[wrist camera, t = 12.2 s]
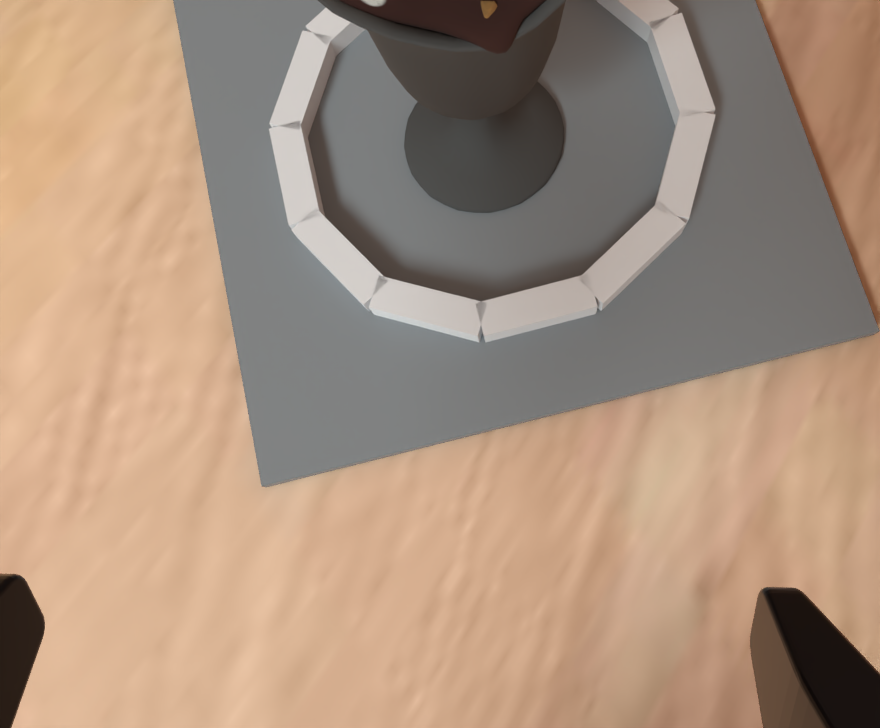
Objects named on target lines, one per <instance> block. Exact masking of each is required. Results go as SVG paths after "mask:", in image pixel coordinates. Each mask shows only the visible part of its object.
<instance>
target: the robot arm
mask: <svg viewBox="0 0 880 728" xmlns="http://www.w3.org/2000/svg"><path fill="white" fill-rule="evenodd" d="M44 629H45V621H44V616H43V614H42V612H41V610H40V608H39V606H38V604H37V602H36V600H35V598H34V596H33V594H32V592H31V590H30V588H29V586H28V584H27V582H26V580H25V579H24V578H23V577H22V576H20V575H17V574H0V728H11V727H12V724H13V721H14V718H15V716H16V713H17V710H18V707H19V704H20V701H21V699H22V696H23V693H24V690H25V687H26V684H27V681H28V679H29V676H30V673H31V670H32V667H33V664H34V661H35V659H36V656H37V653H38V650H39V647H40V644H41V642H42V639H43V635H44ZM750 649H751V657H752V663H753V669H754V675H755V681H756V687H757V693H758V699H759V705H760V711H761V717H762V723H763V728H880V673H879V672H878V671H877V670H876V669H875V668H874V667H873V666H872V665H871V664H870V663H869V662H868V661H867V660H866V659H865V657H864V656H863V655H862V654H861V653H860V652H859V651H858V650H857V649H856V648H855V647H854V646H853V645H852V644H851V643H850V642H849V641H848V639H847V638H846V637H845V636H844V635H843V634H842V633H841V632H840V631H839V630H838V629H837V628H836V627H835V626H834V625H833V624H832V622H831V621H830V620H829V619H828V618H827V617H826V616H825V615H824V614H823V613H822V612H821V611H820V610H819V609H818V608H817V607H816V606H815V604H814V603H813V602H812V601H811V600H810V599H809V598H808V597H807V596H806V595H805V594H804V593H803V592H802V591H800V590H798V589H796V588H782V587H766V588H763V589H761V591H760V592H759V594H758V598H757V603H756V609H755V614H754V619H753V624H752V629H751V635H750Z"/></svg>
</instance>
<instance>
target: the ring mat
mask: <svg viewBox="0 0 880 728" xmlns="http://www.w3.org/2000/svg"><path fill="white" fill-rule="evenodd" d="M173 1H174V6H175V12H176V17H177V23H178V28H179V34H180V39H181V45H182V50H183V56H184V61H185V67H186V72H187V78H188V83H189V89H190V94H191V100H192V105H193V111H194V116H195V122H196V127H197V133H198V138H199V144H200V149H201V155H202V160H203V166H204V171H205V177H206V182H207V188H208V193H209V199H210V204H211V210H212V215H213V221H214V226H215V232H216V237H217V243H218V248H219V254H220V259H221V265H222V270H223V276H224V281H225V287H226V292H227V298H228V304H229V309H230V315H231V320H232V326H233V331H234V337H235V342H236V348H237V353H238V359H239V364H240V370H241V375H242V381H243V386H244V392H245V397H246V403H247V408H248V414H249V419H250V425H251V430H252V436H253V441H254V447H255V452H256V458H257V463H258V469H259V474H260V480H261V485H262V486H263V487H269V486H273V485H277V484H281V483H285V482H289V481H293V480H297V479H301V478H305V477H309V476H312V475H316V474H320V473H324V472H328V471H332V470H336V469H340V468H344V467H348V466H352V465H356V464H360V463H364V462H368V461H372V460H376V459H380V458H384V457H388V456H392V455H396V454H400V453H404V452H408V451H412V450H416V449H420V448H424V447H428V446H432V445H436V444H440V443H444V442H448V441H452V440H456V439H460V438H464V437H468V436H472V435H476V434H480V433H484V432H488V431H492V430H496V429H500V428H504V427H508V426H512V425H516V424H520V423H524V422H527V421H531V420H535V419H539V418H543V417H547V416H551V415H555V414H559V413H563V412H567V411H571V410H575V409H579V408H583V407H587V406H591V405H595V404H599V403H603V402H607V401H611V400H615V399H619V398H623V397H627V396H631V395H635V394H639V393H643V392H647V391H651V390H655V389H659V388H663V387H667V386H671V385H675V384H679V383H683V382H687V381H691V380H695V379H699V378H703V377H707V376H711V375H715V374H719V373H723V372H727V371H731V370H735V369H739V368H743V367H746V366H750V365H754V364H758V363H762V362H766V361H770V360H774V359H778V358H782V357H786V356H790V355H794V354H798V353H802V352H806V351H810V350H814V349H818V348H822V347H826V346H830V345H834V344H838V343H842V342H846V341H850V340H854V339H858V338H862V337H866V336H870V335H874V334H875V333H877V332H879V328H878V326H877V323H876V320H875V318H874V315H873V312H872V310H871V307H870V304H869V302H868V299H867V296H866V294H865V291H864V288H863V286H862V283H861V280H860V278H859V275H858V272H857V270H856V267H855V264H854V262H853V259H852V256H851V254H850V251H849V248H848V246H847V243H846V240H845V238H844V235H843V232H842V230H841V227H840V224H839V222H838V219H837V216H836V214H835V211H834V209H833V206H832V203H831V201H830V198H829V195H828V193H827V190H826V187H825V185H824V182H823V179H822V177H821V174H820V171H819V169H818V166H817V163H816V161H815V158H814V155H813V153H812V150H811V147H810V145H809V142H808V139H807V137H806V134H805V131H804V129H803V126H802V123H801V121H800V118H799V115H798V113H797V110H796V107H795V105H794V102H793V99H792V97H791V94H790V91H789V89H788V86H787V83H786V81H785V78H784V75H783V73H782V70H781V67H780V65H779V62H778V59H777V57H776V54H775V51H774V49H773V46H772V43H771V41H770V38H769V36H768V33H767V30H766V28H765V25H764V22H763V20H762V17H761V14H760V12H759V9H758V6H757V4H756V1H755V0H566V2H565V6H564V10H563V14H562V18H561V22H560V26H559V30H558V34H557V38H556V42H555V44H554V46H553V49H552V51H551V53H550V56H549V58H548V60H547V63H546V65H545V67H544V69H543V71H542V73H541V75H540V77H539V79H538V82H539V83H540V84H541V85H542V86H543V87H544V88H545V89H546V90H547V91H548V92H549V94H550V95H551V96H552V97H553V98H554V100H555V101H556V104H557V106H558V108H559V111H560V113H561V117H562V120H563V124H564V145H563V151H562V156H561V159H560V161H559V163H558V165H557V167H556V169H555V171H554V173H553V174H552V176H551V177H550V179H549V180H548V182H547V183H546V184H545V185H544V186H543V187H542V188H541V189H540V190H539V191H538V192H536V193H535V194H534V195H533V196H531V197H530V198H528V199H527V200H525V201H524V202H523V203H521V204H519V205H516V206H513V207H510V208H508V209H505V210H500V211H496V212H492V213H473V212H465V211H458V210H456V209H453V208H451V207H449V206H446V205H444V204H442V203H440V202H439V201H437V200H435V199H433V198H432V197H430V196H429V195H428V194H427V193H426V192H425V191H424V190H423V188H422V187H421V186H420V185H419V184H418V182H417V181H416V180H415V178H414V177H413V176H412V174H411V171H410V168H409V166H408V163H407V159H406V154H405V150H404V140H405V131H406V126H407V121H408V118H409V116H410V114H411V112H412V110H413V108H414V106H415V105H416V103H417V102H418V101H416V100H415V99H414V98H413V97H412V96H411V95H410V94H409V93H408V92H407V91H406V90H405V88H404V87H403V86H402V85H401V83H400V82H399V81H398V79H397V78H396V77H395V76H394V74H393V73H392V72H391V71H390V69H389V68H388V66H387V65H386V63H385V61H384V59H383V57H382V56H381V54H380V52H379V50H378V48H377V47H376V45H375V43H374V41H373V40H372V38H371V36H370V34H369V32H368V31H367V30H366V29H364V28H361V27H359V26H357V25H355V24H353V23H351V22H349V21H347V20H345V19H343V18H341V17H339V16H337V15H335V14H334V13H332V12H331V11H330V10H328V9H327V8H326V7H325V6H324V5H322V4H321V3H320V2H319V1H317V0H173Z"/></svg>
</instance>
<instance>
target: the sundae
mask: <svg viewBox="0 0 880 728" xmlns="http://www.w3.org/2000/svg"><path fill="white" fill-rule="evenodd" d="M317 1H319V2H320V3H321V4H322V5H324V6H325V7H326V8H327V9H328V10H330V11H331V12H332V13H334V14H335V15H337V16H339V17H341V18H343V19H345V20H347V21H349V22H351V23H353V24H355V25H357V26H359V27H361V28H364V29H366V30H367V31H368V32H369V34H370V36H371V38H372V40H373V41H374V43H375V45H376V47H377V48H378V50H379V52H380V54H381V56H382V57H383V59H384V61H385V63H386V65H387V66H388V68H389V69H390V71H391V72H392V73H393V74H394V76H395V77H396V78H397V79H398V81H399V82H400V83H401V85H402V86H403V87H404V88H405V90H406V91H407V92H408V93H409V94H410V95H411V96H412V97H413V98H414V99H415V100H416V101H418V102H417V103H416V105H415V106H414V108H413V110H412V112H411V114H410V116H409V118H408V121H407V126H406V131H405V140H404V150H405V154H406V159H407V163H408V166H409V168H410V171H411V174H412V176H413V177H414V178H415V180H416V181H417V182H418V184H419V185H420V186H421V187H422V188H423V190H424V191H425V192H426V193H427V194H428V195H429V196H430V197H432V198H433V199H435V200H437V201H439V202H440V203H442V204H444V205H446V206H449V207H451V208H453V209H456V210H458V211H465V212H473V213H492V212H496V211H500V210H505V209H508V208H510V207H513V206H516V205H519V204H521V203H523V202H524V201H525V200H527V199H528V198H530V197H531V196H533V195H534V194H535V193H536V192H538V191H539V190H540V189H541V188H542V187H543V186H544V185H545V184H546V183H547V182H548V180H549V179H550V177H551V176H552V174H553V173H554V171H555V169H556V167H557V165H558V163H559V161H560V159H561V156H562V151H563V145H564V124H563V120H562V117H561V113H560V111H559V108H558V106H557V104H556V101H555V100H554V98H553V97H552V96H551V95H550V94H549V92H548V91H547V90H546V89H545V88H544V87H543V86H542V85H541V84H540V83H539V82H538V79H539V77H540V75H541V73H542V71H543V69H544V67H545V65H546V63H547V60H548V58H549V56H550V53H551V51H552V49H553V46H554V44H555V42H556V38H557V34H558V30H559V26H560V22H561V18H562V14H563V10H564V6H565V2H566V0H317Z"/></svg>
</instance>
